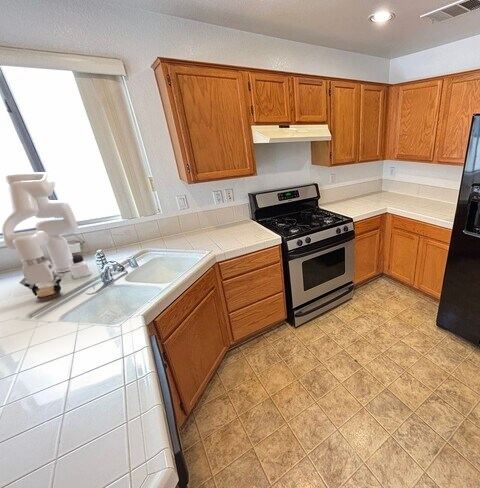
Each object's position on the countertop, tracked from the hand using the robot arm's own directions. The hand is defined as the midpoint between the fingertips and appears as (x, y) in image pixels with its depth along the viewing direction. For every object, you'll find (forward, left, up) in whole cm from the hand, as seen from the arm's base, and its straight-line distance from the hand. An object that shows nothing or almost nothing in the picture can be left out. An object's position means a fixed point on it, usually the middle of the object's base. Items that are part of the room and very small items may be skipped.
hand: (48, 292), depth 131 cm
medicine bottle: (-25, +4, -3) cm, 25 cm away
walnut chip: (0, 0, -3) cm, 3 cm away
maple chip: (0, 0, 0) cm, 0 cm away
